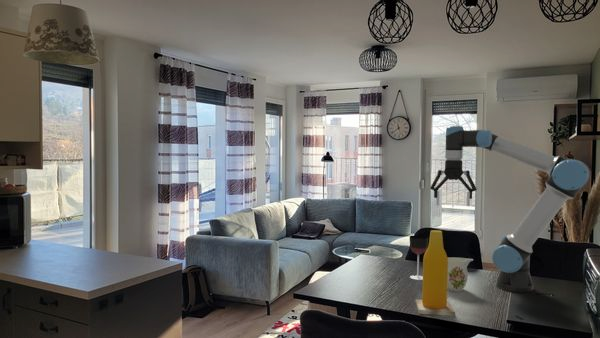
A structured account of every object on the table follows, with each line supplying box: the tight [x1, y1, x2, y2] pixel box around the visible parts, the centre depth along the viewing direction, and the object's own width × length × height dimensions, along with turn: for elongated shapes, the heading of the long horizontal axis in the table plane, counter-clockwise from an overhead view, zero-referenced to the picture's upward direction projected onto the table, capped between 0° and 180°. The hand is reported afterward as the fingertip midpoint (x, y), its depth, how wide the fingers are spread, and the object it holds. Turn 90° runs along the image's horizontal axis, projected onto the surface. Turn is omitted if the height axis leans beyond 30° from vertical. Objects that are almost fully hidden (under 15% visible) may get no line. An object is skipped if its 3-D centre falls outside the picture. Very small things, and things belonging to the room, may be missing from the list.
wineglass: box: [409, 235, 429, 281], centre depth 211 cm, size 8×9×20 cm
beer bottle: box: [421, 229, 448, 309], centre depth 167 cm, size 9×9×29 cm
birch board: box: [415, 298, 456, 317], centre depth 167 cm, size 13×12×2 cm
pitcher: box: [447, 256, 474, 292], centre depth 193 cm, size 11×18×14 cm, turn 86°
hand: (452, 205), depth 200 cm, fingers open, 13 cm apart
